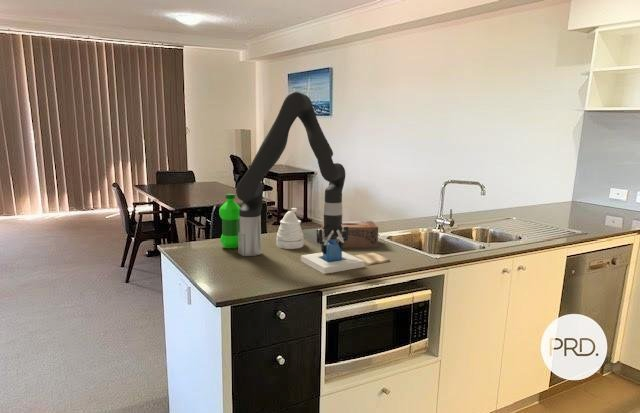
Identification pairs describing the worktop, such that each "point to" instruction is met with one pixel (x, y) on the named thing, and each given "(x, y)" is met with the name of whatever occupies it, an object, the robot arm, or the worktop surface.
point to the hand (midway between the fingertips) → (332, 252)
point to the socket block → (332, 263)
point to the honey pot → (290, 232)
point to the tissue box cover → (359, 234)
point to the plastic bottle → (230, 222)
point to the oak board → (372, 258)
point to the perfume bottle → (333, 251)
